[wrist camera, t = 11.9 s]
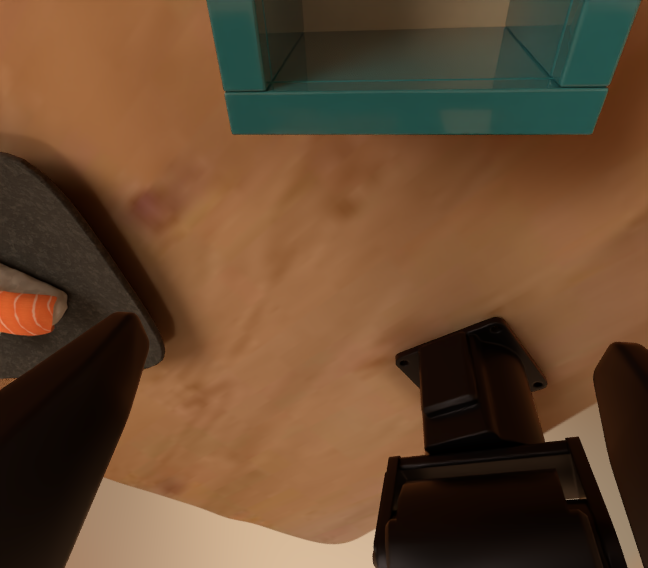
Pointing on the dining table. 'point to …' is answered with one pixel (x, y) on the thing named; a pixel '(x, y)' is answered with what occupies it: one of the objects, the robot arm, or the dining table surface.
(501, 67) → the teal rimmed box
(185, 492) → the dining table surface
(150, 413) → the dining table surface
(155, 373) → the dining table surface
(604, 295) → the dining table surface
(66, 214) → the sushi plate
